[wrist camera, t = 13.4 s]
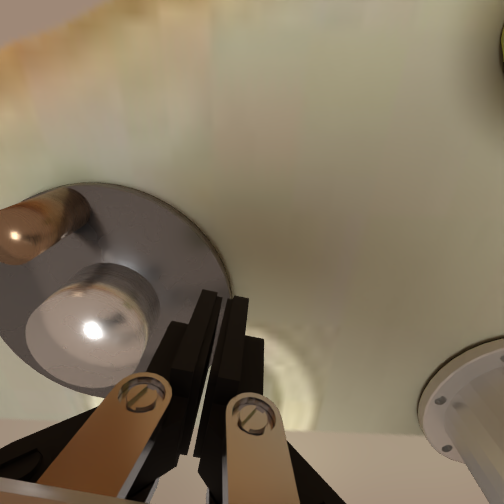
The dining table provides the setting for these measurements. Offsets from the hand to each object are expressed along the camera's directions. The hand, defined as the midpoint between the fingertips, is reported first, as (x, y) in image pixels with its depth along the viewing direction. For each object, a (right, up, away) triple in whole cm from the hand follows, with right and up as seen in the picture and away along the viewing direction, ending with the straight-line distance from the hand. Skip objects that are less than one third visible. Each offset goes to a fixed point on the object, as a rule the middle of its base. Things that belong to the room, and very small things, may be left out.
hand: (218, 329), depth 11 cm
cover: (-8, -1, +9) cm, 12 cm away
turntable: (-8, -1, +10) cm, 13 cm away
